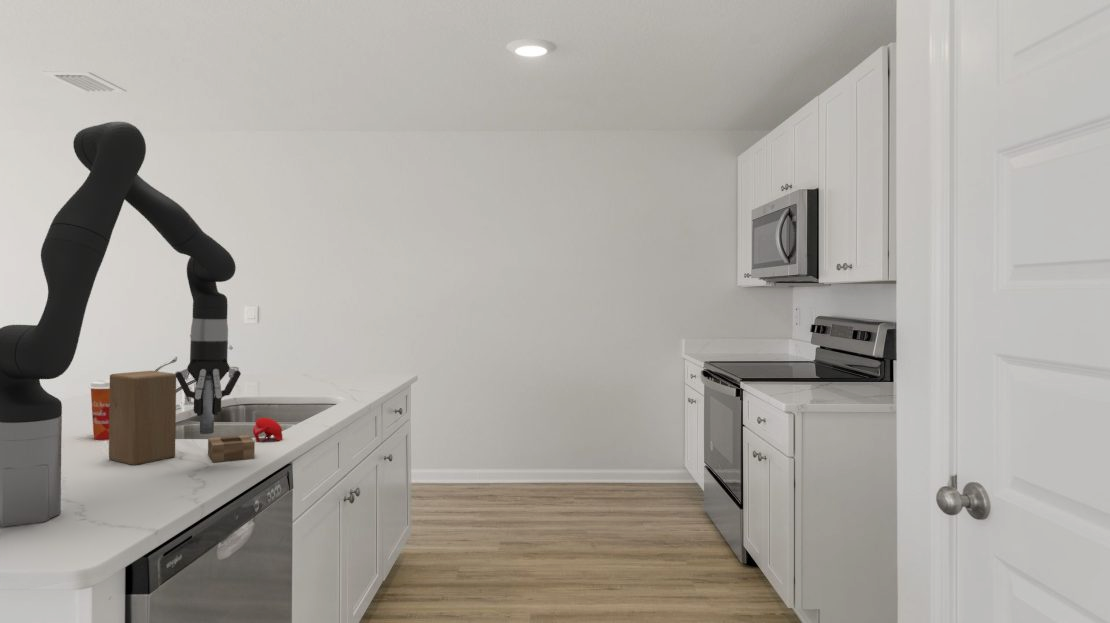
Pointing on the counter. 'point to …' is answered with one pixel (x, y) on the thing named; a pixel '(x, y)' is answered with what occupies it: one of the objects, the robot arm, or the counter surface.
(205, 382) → the grey metal cylinder
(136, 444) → the wooden block
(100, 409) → the coffee cup
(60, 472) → the robot arm
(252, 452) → the checkered wooden holder
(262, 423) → the cap
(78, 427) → the counter surface
